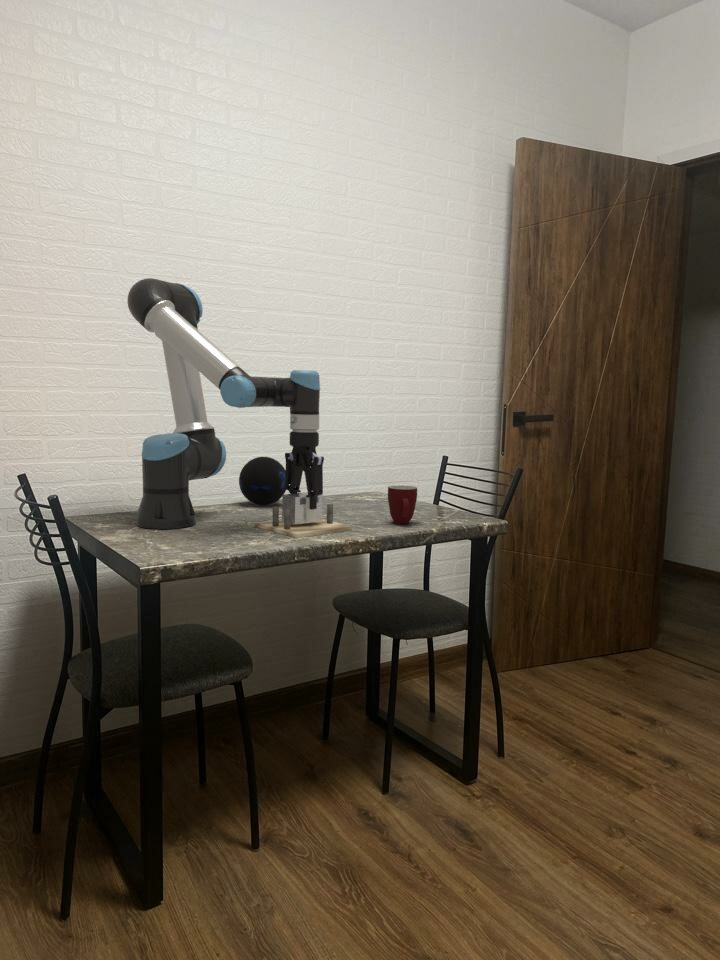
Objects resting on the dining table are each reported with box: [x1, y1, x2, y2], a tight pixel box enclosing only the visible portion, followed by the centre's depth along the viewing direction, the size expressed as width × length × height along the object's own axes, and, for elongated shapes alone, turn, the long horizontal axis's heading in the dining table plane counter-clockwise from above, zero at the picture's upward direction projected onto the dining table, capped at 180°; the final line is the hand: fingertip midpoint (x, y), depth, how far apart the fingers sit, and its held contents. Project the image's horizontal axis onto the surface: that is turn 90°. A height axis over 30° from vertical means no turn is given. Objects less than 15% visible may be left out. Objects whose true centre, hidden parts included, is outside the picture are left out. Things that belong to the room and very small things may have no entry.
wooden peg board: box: [254, 503, 353, 539], centre depth 191 cm, size 18×18×6 cm
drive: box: [281, 491, 324, 524], centre depth 191 cm, size 6×9×7 cm, turn 132°
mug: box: [387, 484, 418, 526], centre depth 200 cm, size 10×8×10 cm
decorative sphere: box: [238, 456, 287, 506], centre depth 226 cm, size 15×15×15 cm
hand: (302, 519), depth 191 cm, fingers closed on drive, 6 cm apart
